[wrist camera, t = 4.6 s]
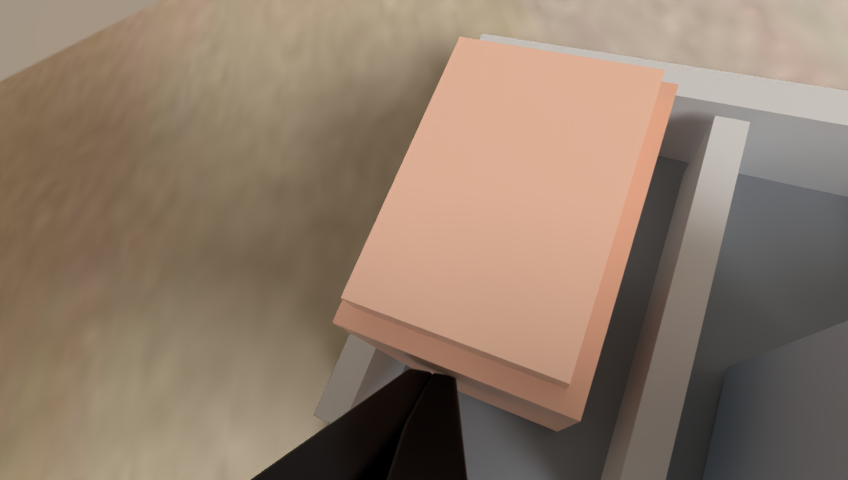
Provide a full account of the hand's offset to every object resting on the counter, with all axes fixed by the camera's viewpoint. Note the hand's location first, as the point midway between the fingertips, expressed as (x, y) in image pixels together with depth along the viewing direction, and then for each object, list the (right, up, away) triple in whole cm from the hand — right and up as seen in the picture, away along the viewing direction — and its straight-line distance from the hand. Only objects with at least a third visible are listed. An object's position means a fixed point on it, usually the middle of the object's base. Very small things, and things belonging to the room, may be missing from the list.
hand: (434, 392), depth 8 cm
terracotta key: (+3, 0, +6) cm, 7 cm away
